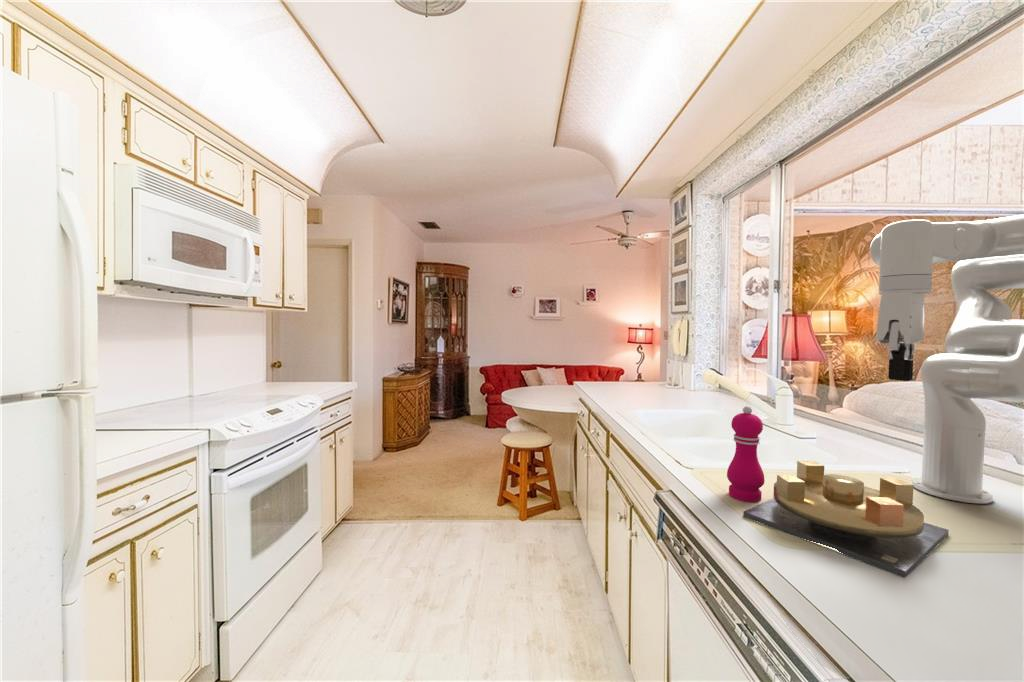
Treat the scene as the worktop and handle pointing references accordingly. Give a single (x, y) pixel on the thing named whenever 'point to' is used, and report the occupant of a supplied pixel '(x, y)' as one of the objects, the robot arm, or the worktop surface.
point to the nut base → (854, 539)
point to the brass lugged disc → (850, 502)
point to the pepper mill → (746, 458)
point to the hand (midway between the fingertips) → (900, 379)
